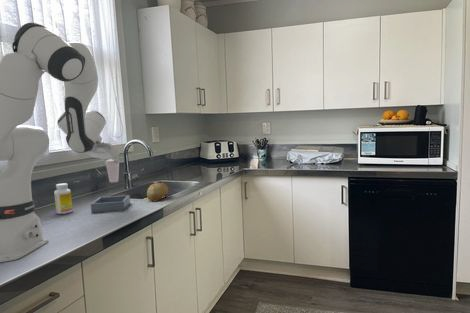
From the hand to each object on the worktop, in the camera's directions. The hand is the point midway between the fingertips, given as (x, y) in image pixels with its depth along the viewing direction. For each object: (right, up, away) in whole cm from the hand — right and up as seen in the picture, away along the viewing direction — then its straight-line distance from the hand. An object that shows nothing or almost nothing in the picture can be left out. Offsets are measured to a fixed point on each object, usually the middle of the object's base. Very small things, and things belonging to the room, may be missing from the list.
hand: (113, 161), depth 157 cm
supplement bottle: (-21, -23, -1) cm, 31 cm away
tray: (-2, -21, +3) cm, 22 cm away
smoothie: (0, -9, +1) cm, 9 cm away
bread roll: (+16, -19, +19) cm, 31 cm away
